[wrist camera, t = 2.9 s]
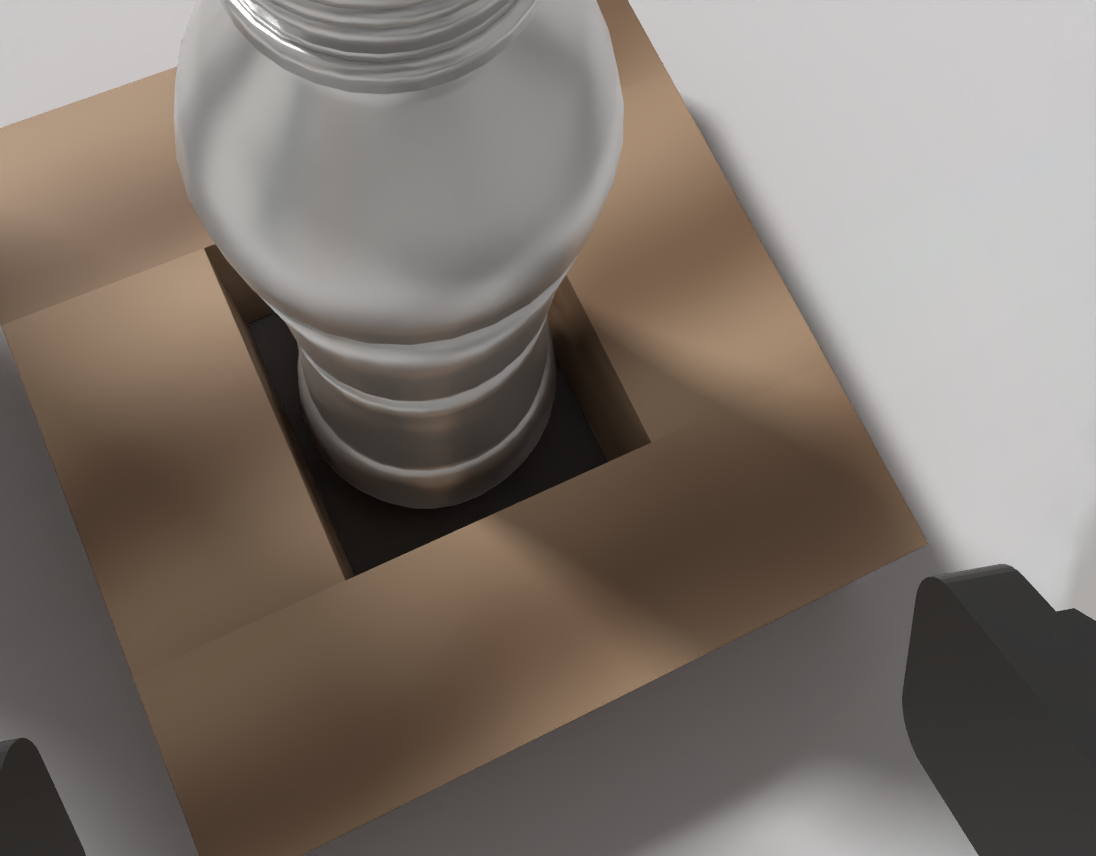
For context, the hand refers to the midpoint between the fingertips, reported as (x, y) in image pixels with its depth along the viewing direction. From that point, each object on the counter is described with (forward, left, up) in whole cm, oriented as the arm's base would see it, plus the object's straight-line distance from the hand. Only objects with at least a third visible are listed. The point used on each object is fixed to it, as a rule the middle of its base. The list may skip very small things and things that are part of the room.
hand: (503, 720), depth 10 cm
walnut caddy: (-8, +2, -18) cm, 20 cm away
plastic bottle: (-8, +2, -18) cm, 20 cm away
